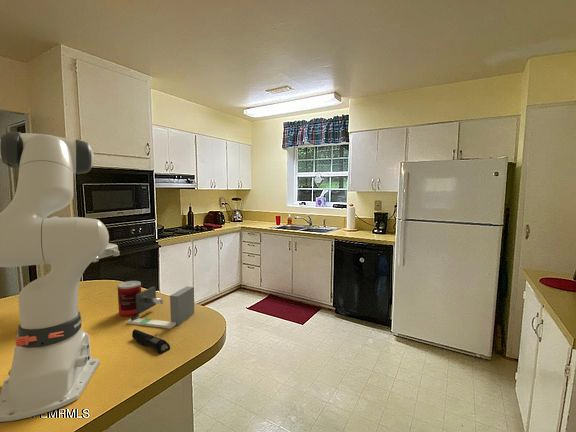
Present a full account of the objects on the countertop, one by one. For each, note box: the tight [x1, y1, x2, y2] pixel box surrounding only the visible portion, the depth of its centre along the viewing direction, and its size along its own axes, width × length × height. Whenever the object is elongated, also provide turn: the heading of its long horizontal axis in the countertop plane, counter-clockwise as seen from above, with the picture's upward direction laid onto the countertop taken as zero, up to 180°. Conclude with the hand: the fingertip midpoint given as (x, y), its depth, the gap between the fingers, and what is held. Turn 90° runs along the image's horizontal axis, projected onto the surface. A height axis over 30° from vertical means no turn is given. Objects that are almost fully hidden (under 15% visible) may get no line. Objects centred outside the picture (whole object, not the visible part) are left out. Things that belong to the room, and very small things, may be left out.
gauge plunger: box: [130, 286, 164, 320], centre depth 105 cm, size 7×12×8 cm, turn 167°
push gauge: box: [126, 286, 195, 329], centre depth 104 cm, size 18×13×10 cm
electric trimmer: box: [131, 328, 171, 355], centre depth 87 cm, size 4×16×3 cm, turn 58°
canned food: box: [117, 280, 142, 317], centre depth 109 cm, size 8×8×11 cm
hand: (107, 256), depth 110 cm, fingers open, 8 cm apart
